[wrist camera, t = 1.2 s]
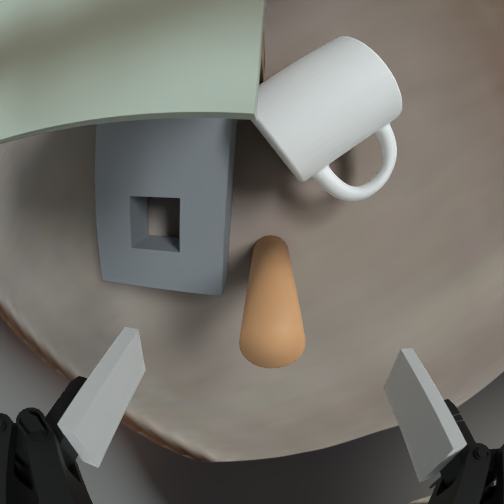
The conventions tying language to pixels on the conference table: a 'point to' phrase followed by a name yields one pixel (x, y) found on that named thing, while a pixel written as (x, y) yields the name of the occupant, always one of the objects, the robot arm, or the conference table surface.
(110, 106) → the panel
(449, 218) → the conference table surface
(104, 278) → the socket board
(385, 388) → the robot arm
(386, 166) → the mug
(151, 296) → the conference table surface
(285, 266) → the peg
